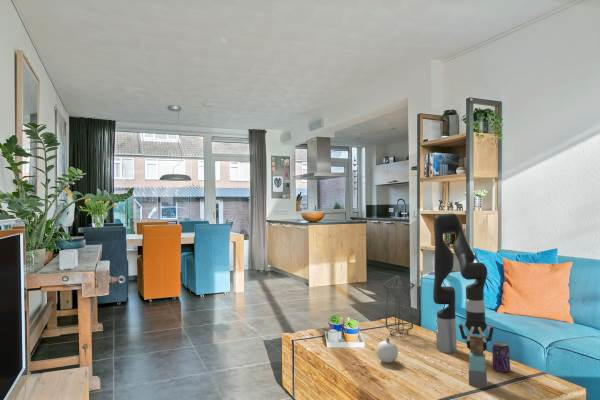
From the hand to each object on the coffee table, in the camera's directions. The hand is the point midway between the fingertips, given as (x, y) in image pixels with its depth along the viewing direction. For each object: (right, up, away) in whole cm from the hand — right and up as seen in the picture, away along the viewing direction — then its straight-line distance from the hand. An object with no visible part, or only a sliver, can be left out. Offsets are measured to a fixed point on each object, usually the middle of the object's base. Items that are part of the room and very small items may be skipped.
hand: (476, 349), depth 177 cm
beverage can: (+16, -14, +12) cm, 25 cm away
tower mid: (0, -8, 0) cm, 8 cm away
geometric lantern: (-16, -17, +70) cm, 74 cm away
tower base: (0, -14, 0) cm, 14 cm away
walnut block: (0, -1, 0) cm, 1 cm away
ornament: (-32, -16, +27) cm, 45 cm away
